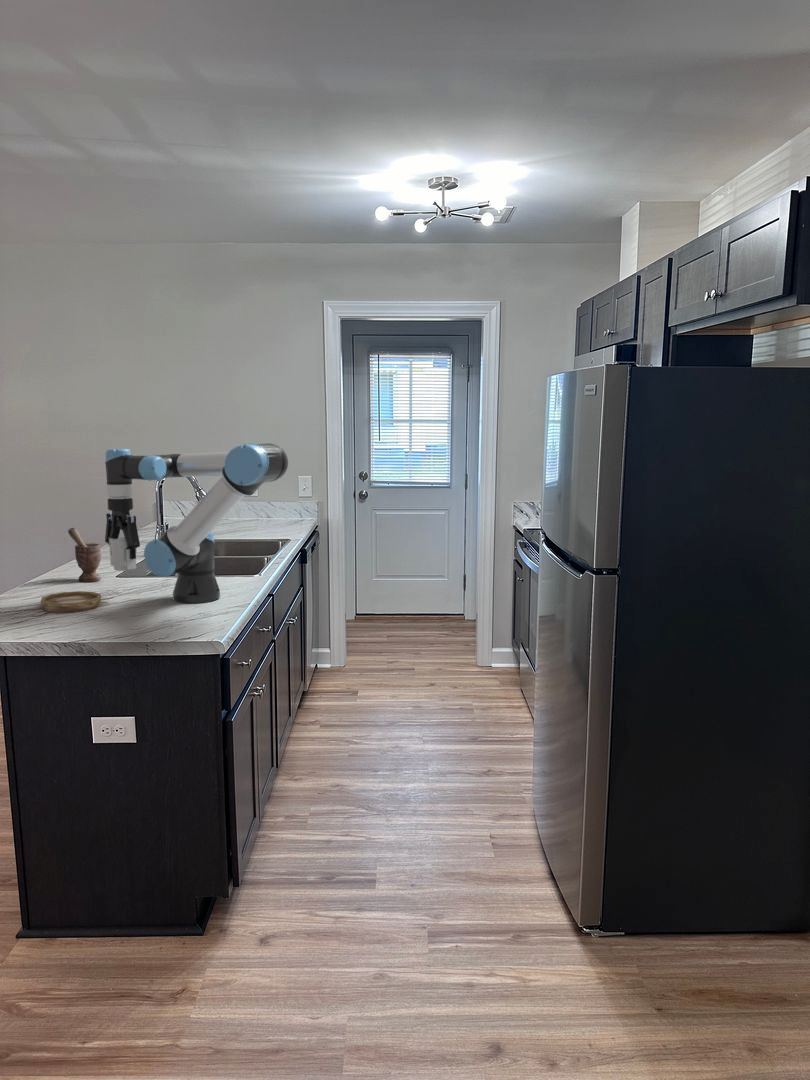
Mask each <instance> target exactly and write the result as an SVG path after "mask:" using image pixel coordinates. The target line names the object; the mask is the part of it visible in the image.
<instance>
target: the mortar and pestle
mask: <svg viewBox="0 0 810 1080" xmlns="http://www.w3.org/2000/svg"><path fill="white" fill-rule="evenodd" d="M67 533H68V535H69V536H70V538H71V539H72V540H73V542H75V544H76V545H75V546H74V551H75V553H74V555H75V561H76V563H77V566H78V568H80V569H81V571H82V572H81V575H79V576H78V578H77V579H78V581H79V582H81V583H93V582H99V581H100V580H102V579H101V575H100V574H99V573H97V569H98V568H99V566H100V563H101V559H102V551H101V549H102V547H101V546H102V543H99V542H98V543H96V542H90V543H89V542H86V543H84V542H85V541H83V538H82V537H81V536H80V533H79V532H78V529H76V528H75V527H70V528H68V531H67Z"/></svg>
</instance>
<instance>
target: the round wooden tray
mask: <svg viewBox="0 0 810 1080" xmlns="http://www.w3.org/2000/svg"><path fill="white" fill-rule="evenodd" d="M40 604H41V610H42V611H45V612H48V613H53V614H55V613H56V614H70V613H71V614H72V613H83V612H88V611H92V610H95V609H98V608H99V607H101V606H102V593H98V592H95V591H85V590H84V591H82V590H78V591H77V590H76V591H63V592H62V591H61V592H56V593H51V594H47V595H44V596H42V597H41V599H40Z"/></svg>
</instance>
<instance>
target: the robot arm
mask: <svg viewBox="0 0 810 1080" xmlns="http://www.w3.org/2000/svg"><path fill="white" fill-rule="evenodd" d="M131 453H132V452H131V450H130V449H129V448H108V449H106V451H105V460H104V461H105V462H104V464H105V473H106V474H105V476H106V496H107V509H108V510H109V511H111V512H108V513H107V512H106V514H105V515H106V527H105V538H104V542H105V543H107V544H108V546H110V545H109V539H110V538H113V539H118V537H120V533H121V532H120V531H122V533H123V537H125V540H126V543H127V546H128V547H127V548H126V551H127V569H128V571H130V570H129V569H133V570H135V569H137V555H136V548H137V549H138V548H140V547H141V543H140V538H139V532H138V526H137V516H136V515H131V513H130V511H132V510H133V509H134V499H133V498H132V497H133V480H141V481H142V480H144V481H150V482H151V481H159V480H162V479H169V478H170V479H171V478H188V477H194V478H195V477H196V478H197V477H220V478H219V480H217V482H215V484H214V485H213V486H212V487H211V489H210V490H208V491H207V493H206V494H205V495H204V496H203V497H202V498H201V500H200V501H198V503H197V504H196V505H195V506H194V507H193V508H192V509H191V511H189V513H188V514H187V515H186V516H185V517H184V518H183V519H182V520H181V521H180V523H179V524H178V525H172V526H169V527H168V528H167V530H166V531H164V532H163V534H162V535H161V536H160V537H158V538H155V539H152V540H151V541H149V542H148V543H147V544H146V545H145V547H144V550H143V556H144V562H145V565H146V567H147V569H148V571H150V572H151V573H152V574H153V575H156V576H158V577H170V576H173V575H175V574H177V578H176V580H175V585H174V588H173V590H172V599H173V600H174V601H175V602H179V603H187V604H198V603H199V604H200V603H208V602H209V601H210V602H214V601H217V600H219V599H220V598H221V590H220V587H219V584H218V582H217V581H218V580H217V577H216V576H215V544H216V543H215V542H216V541H215V537H214V536H215V535H214V532H213V531H214V529H215V528H216V527H217V526H218V525H219V524H220V523H221V522H222V521H223V519H224V518H226V516H227V515H228V514H229V513H230V512H231V511H232V510H233V508H235V507H236V506H237V504H239V502H241V500H242V499H243V498H244V497H246V496H247V497H251V496H253V495H254V494H255V493H256V491H257V490H259V488H261V486H262V485H264V483H270V482H275V481H279V480H280V479H281V478H283V476H284V475H285V474H286V472H287V470H288V467H289V459H288V455H287V454H286V452H285V451H284V449H283V448H282V447H280V446H279V445H277V444H274V443H268V442H267V443H243V444H240V445H237V446H235V447H232V449H231V450H230V451H216V452H196V453H193V452H192V453H191V452H190V453H170V454H169V453H168V454H152V455H150V454H149V455H132V454H131ZM109 558H110V559H109V560H110V561H109V563H110V566H113V563H112V558H111V553H110V552H109ZM219 597H220V598H219ZM218 598H219V599H218ZM216 599H217V600H216ZM213 600H214V601H213ZM210 602H209V603H210Z"/></svg>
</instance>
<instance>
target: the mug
mask: <svg viewBox="0 0 810 1080" xmlns="http://www.w3.org/2000/svg"><path fill="white" fill-rule="evenodd" d="M108 539H109V538H108ZM108 546H109V554H110V553H111V558H112V563H113V570H114V571H119V572H126V571H127V572H129V571H133V570H134V569H129V570H128V569H127V551H126V548H127V547H128V546H127V543H126V540H125V537H124V536H119V537H118V539H113V538H110V539H109V545H108ZM137 554H138V547H137V548H136V556H137Z"/></svg>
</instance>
